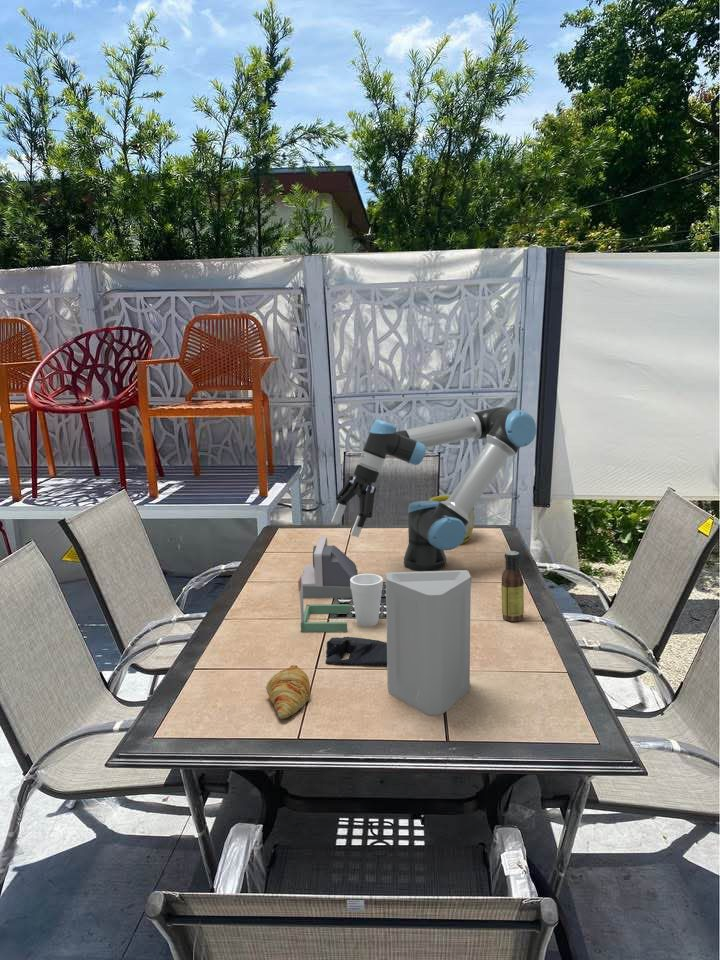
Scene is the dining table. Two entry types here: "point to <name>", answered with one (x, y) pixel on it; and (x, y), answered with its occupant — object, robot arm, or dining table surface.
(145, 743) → the dining table surface
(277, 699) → the croissant
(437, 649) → the grey triangular prism
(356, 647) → the crumpled black cloth
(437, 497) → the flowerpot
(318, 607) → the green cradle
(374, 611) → the foam cup
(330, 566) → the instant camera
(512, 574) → the sauce bottle
